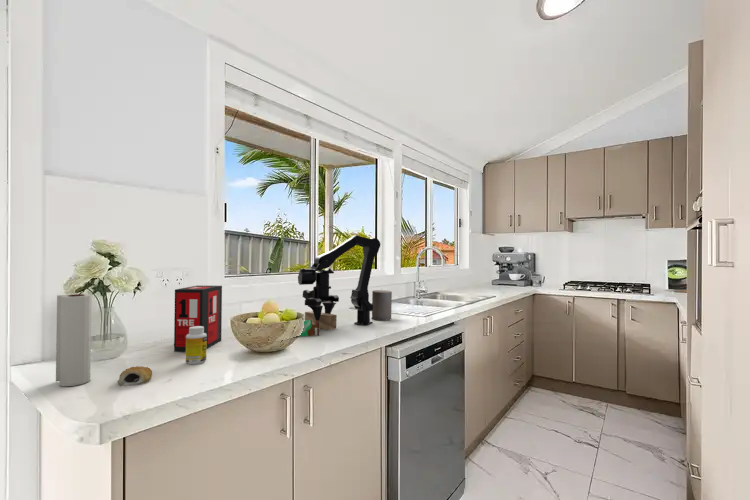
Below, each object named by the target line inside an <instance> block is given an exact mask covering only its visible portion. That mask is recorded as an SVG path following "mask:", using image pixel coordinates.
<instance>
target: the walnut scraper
mask: <svg viewBox="0 0 750 500" xmlns="http://www.w3.org/2000/svg"><path fill="white" fill-rule="evenodd" d="M337 317H338V316H337V314H332V313H331V314H327V313H325V312H321V315H320V319H319V329H323V330H329V331H330V330H335V329H337V320H338V319H337ZM304 320H316V319H315V316H314V313H313V310H310V311H305V312H304Z"/></svg>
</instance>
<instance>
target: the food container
mask: <svg viewBox="0 0 750 500" xmlns="http://www.w3.org/2000/svg"><path fill="white" fill-rule="evenodd" d="M304 320H305V319H304ZM313 336H315V337H316V336H320V328H319V321H318V320H305V321H304V328H303V331H302V333H301V335H300V336H299V337H313Z"/></svg>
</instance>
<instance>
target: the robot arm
mask: <svg viewBox="0 0 750 500" xmlns="http://www.w3.org/2000/svg"><path fill="white" fill-rule="evenodd" d="M355 246H358V247H361V248H362V253H363V259H362V263H361V270H360V273H359V278H358V282H357V287H356V288H355V289H352V290H351V296H350V297H349V298H350V302H351V305H352V306H354V310H357V311H356V313H357V316H356V321H355V322H353V323H354V324H355V325H363V326H367V325H370V324H373V321H370V320H371V318H370V317H371V315H370V314H371V312H372V310H373V305H372V302H370V300H369V298H370V294H369V284H370V283H369V282H370V278H371V274H372V269H373V265H374V259H375V258H376V256H377V255H378V253H379V251H380V248H381V241H380V239H378V238H377V237H370V238H369V237H364V236H360V235H351V237H349V238H347V240H345V241H344V242H342V243H340V244H339V245H337V246H336V247H334V248H333V249H331V250H329V251H326V252H324V253H322V254H320V255H319V254H318V255H317V256H316V257H315V258H314V263H312V265H311V267H309V268H299V272H298V276H297V281H298V282H297V283H298V285H299V286H302V285H303V286H305V285H314V283H315V286H313V288H312V290H309V289H305V290H303V291H302V298H304V299H305V300H304V306H307V307H309V308H310V309H311V311H313V313H314V316H315V319H316V320H318V321H319V319H320V315H321V313H322V310H323V307H324V313H327V314H332V311H333V309H334V308H335V306H336V305H337V303H338V302H340V298H339V296H338V295H337V294H330V290H331V289H332V286H331V285H330V275H331V274H335V272H334V270H332V268H330V267H331V266H332V265H333V264H334V263H335V261H336V260H338V258H339V257H341V256H342V255H344V254H345V253H347V252H349V251H350V250H351V249H353V248H354V247H355Z"/></svg>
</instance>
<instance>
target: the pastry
mask: <svg viewBox="0 0 750 500" xmlns="http://www.w3.org/2000/svg"><path fill="white" fill-rule="evenodd" d="M152 376H153V370H152V369H151V368H150V367H148V366H140V365H139V366H138V365H137V366H131V367H129V368H126V369H125V370H122V372H121V373H120V374H119V378H118V380H117V381H116V383H117V385H119V386H121V387H122V386H123V387H128V386H135V385H136V386H138V385H143V384H144V385H145V384H147V383H149V382H150V380H151V379H152Z"/></svg>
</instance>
